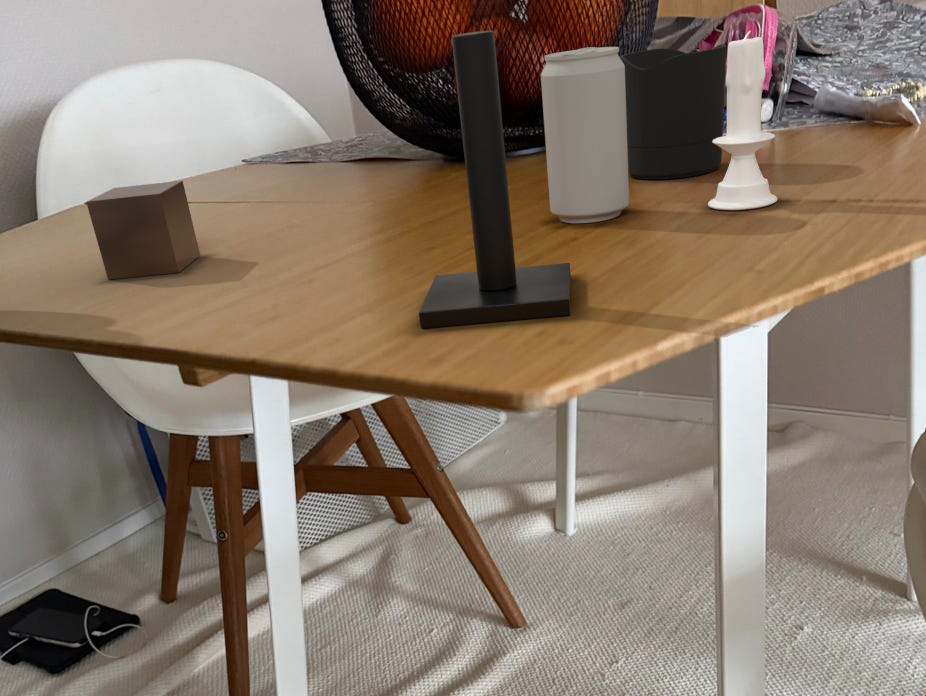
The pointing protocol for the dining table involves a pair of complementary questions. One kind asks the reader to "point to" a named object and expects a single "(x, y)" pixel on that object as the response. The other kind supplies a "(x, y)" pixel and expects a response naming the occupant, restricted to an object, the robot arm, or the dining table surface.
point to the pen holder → (674, 111)
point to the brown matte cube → (144, 230)
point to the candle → (744, 129)
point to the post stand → (490, 213)
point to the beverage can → (586, 134)
